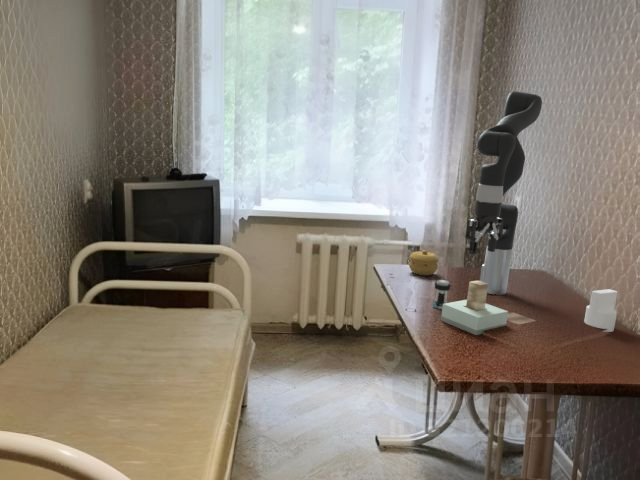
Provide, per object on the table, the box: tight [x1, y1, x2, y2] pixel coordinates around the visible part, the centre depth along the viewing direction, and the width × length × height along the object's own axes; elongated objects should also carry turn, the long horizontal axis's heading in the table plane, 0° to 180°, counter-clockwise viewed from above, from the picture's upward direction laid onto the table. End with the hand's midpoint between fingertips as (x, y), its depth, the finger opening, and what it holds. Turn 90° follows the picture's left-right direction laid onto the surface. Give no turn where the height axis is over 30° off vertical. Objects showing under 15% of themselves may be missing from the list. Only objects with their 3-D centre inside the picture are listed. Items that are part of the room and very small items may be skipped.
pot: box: [408, 249, 439, 276], centre depth 245 cm, size 12×12×10 cm
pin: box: [466, 280, 488, 311], centre depth 186 cm, size 4×4×12 cm
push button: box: [432, 279, 452, 310], centre depth 198 cm, size 7×5×10 cm
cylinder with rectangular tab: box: [583, 288, 619, 333], centre depth 193 cm, size 9×9×12 cm
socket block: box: [440, 299, 509, 336], centre depth 187 cm, size 14×14×6 cm
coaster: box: [507, 311, 537, 326], centre depth 194 cm, size 9×9×1 cm
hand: (482, 252), depth 183 cm, fingers open, 8 cm apart
